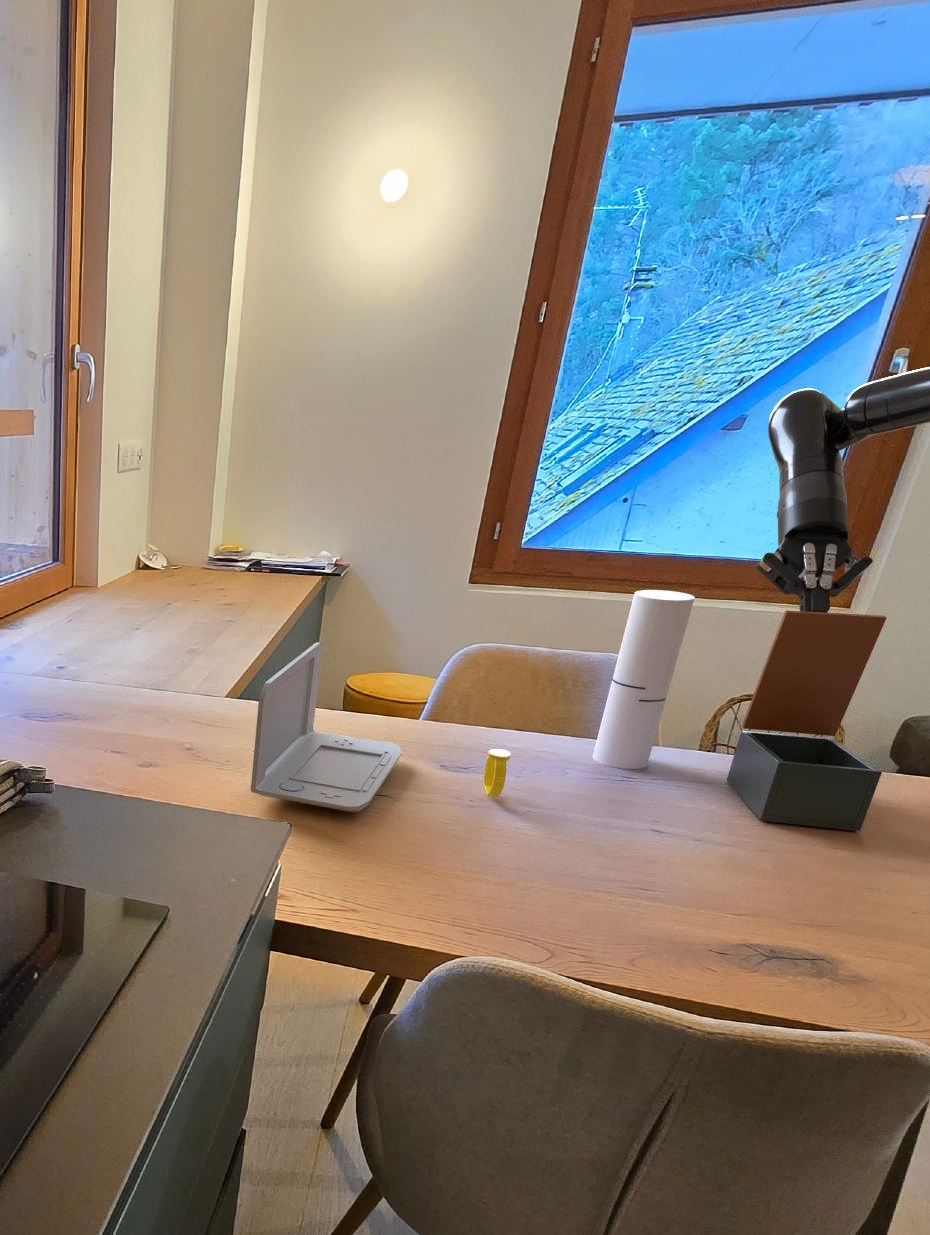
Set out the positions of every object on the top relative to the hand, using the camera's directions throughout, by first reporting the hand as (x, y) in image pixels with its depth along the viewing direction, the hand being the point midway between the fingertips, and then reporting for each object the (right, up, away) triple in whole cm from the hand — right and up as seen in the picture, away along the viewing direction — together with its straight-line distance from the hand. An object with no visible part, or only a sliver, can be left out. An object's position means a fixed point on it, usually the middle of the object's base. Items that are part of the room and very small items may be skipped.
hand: (815, 617), depth 128 cm
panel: (-2, -8, -1) cm, 8 cm away
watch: (-42, -23, +4) cm, 48 cm away
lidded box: (-4, -25, 0) cm, 26 cm away
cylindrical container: (-16, -18, +16) cm, 29 cm away
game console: (-62, -20, +9) cm, 66 cm away
